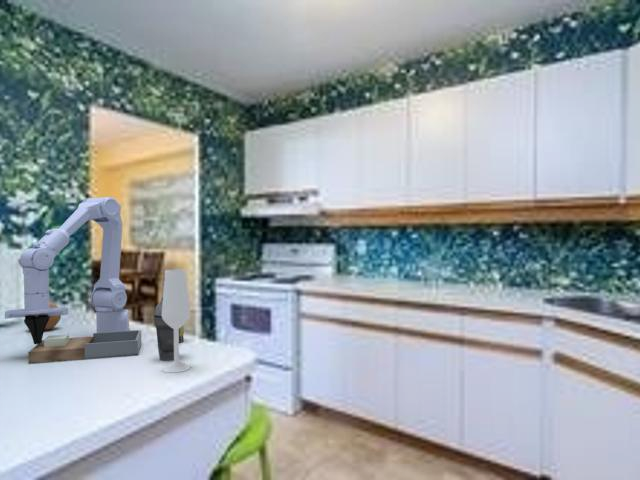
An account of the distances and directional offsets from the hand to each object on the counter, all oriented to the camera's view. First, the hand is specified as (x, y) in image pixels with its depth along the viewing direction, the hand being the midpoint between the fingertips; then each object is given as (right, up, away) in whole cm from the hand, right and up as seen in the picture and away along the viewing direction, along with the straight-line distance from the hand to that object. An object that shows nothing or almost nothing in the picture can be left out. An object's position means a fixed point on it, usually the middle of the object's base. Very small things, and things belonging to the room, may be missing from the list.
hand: (37, 343), depth 126 cm
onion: (-18, -3, +34) cm, 39 cm away
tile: (+4, -1, +1) cm, 5 cm away
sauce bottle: (+31, -3, +16) cm, 35 cm away
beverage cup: (+36, -4, -2) cm, 36 cm away
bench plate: (+6, -4, +2) cm, 7 cm away
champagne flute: (+41, -4, -11) cm, 43 cm away
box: (+18, -3, +6) cm, 19 cm away
